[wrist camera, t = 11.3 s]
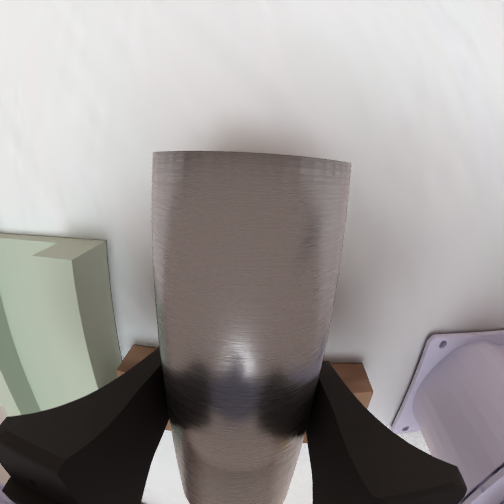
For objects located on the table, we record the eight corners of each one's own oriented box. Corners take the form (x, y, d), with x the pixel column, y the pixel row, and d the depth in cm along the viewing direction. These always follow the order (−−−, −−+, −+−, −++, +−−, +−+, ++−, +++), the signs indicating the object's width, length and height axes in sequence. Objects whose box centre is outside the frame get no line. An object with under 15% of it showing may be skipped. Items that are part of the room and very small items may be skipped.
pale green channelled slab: (106, 240, 15) (71, 260, 12) (143, 446, 19) (130, 476, 16) (-20, 232, 15) (-52, 244, 12) (32, 409, 20) (15, 431, 17)
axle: (180, 154, 10) (118, 151, 5) (327, 162, 10) (382, 166, 5) (191, 441, 14) (174, 517, 9) (285, 447, 14) (290, 525, 9)
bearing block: (362, 363, 16) (373, 391, 13) (346, 412, 17) (353, 441, 15) (133, 344, 16) (116, 370, 14) (142, 395, 17) (129, 421, 15)
